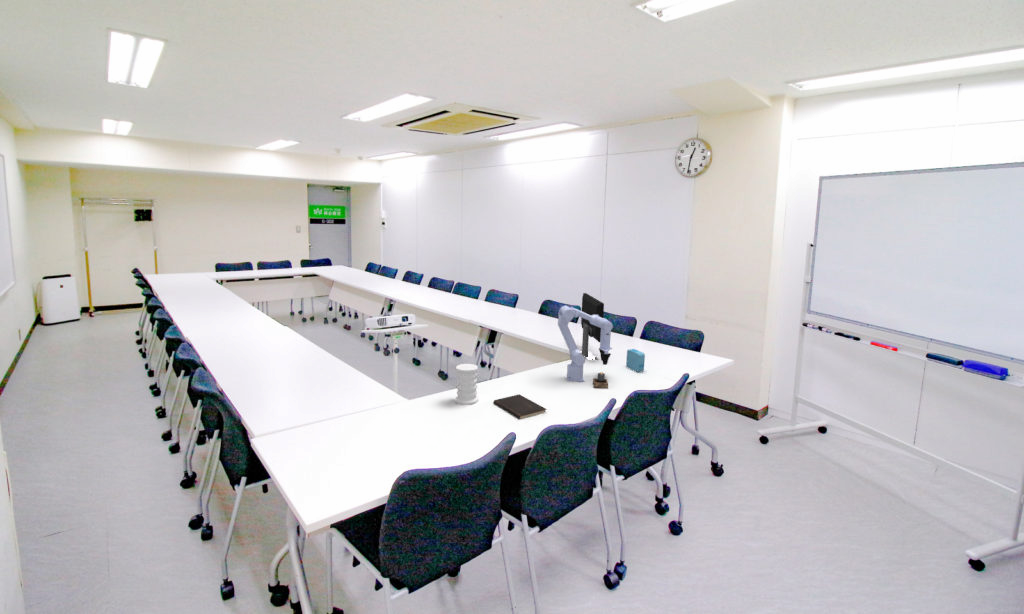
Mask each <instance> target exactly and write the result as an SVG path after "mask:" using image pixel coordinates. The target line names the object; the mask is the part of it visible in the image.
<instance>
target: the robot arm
mask: <svg viewBox="0 0 1024 614" xmlns="http://www.w3.org/2000/svg"><path fill="white" fill-rule="evenodd" d="M557 317H558V319H557V325H558V328H559V331H560V332H561V335H562V336H563V339H564V341H565V344H566V346H567V348H568V351H569V352H568V353H569V359H570V360H571V362H570V363H568V364H566V365H567V368H566V370H567V371H566V380H567V382H585V379H584V365H585V363H586V359H585V358H584V357H583V356H582V354H581V353H580V351H581V350H579V348H578V345H577V344H576V342H575V338H574V337H573V334H572V332H571V330H570V328H569V326H568V325H569V323H570V321H572V320H573V319H574V318H580V319H581V318H584V319H586V320H589V322H590V324H593V325H595V326H597V327H600V328H601V337H600V342H599V348H598V350H599V353H600V360H601V361H602V366H603V365H604V366H606V365H607V364H608V363H609V359H610V357H611V355H612V354H611V353H610V352H609V351H610V350H613V347H611V332H612V330H613V328H614V325H613V323H612V321H609V320H608V319H607V318H605V317H603V318H601V317H599V315H597V314H596V315H589V314H587V313H584V312H582V310H579V309H578V308H575V307H573V306H570V307H569V306H568V305H562V306H561V307H560V308H559V311H558V316H557ZM602 328H603V329H602Z"/></svg>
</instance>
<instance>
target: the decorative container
mask: <svg viewBox="0 0 1024 614" xmlns="http://www.w3.org/2000/svg"><path fill="white" fill-rule="evenodd" d="M455 370H456V372H457V373H456V377H457V379H456V383H457V386H456V388H457V392H456V395H457V396H456V397H455V402H456V404H458V405H463V406H469V405H471V406H472V405H474V404H477V403H478V402H479V397H478V395H477V394H478V392H477V387H478V385H477V383H478V378H477V376H478V373H477V371H478V370H479V367H478V365H477V364H473V363H461V364H457V365H456V369H455Z"/></svg>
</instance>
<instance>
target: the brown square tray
mask: <svg viewBox="0 0 1024 614" xmlns="http://www.w3.org/2000/svg"><path fill="white" fill-rule="evenodd" d="M592 385H594V386H593V388H594V389H609V382H608V379H607V378H605V379H604V383H597V378H594V377H593V378H592Z"/></svg>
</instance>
